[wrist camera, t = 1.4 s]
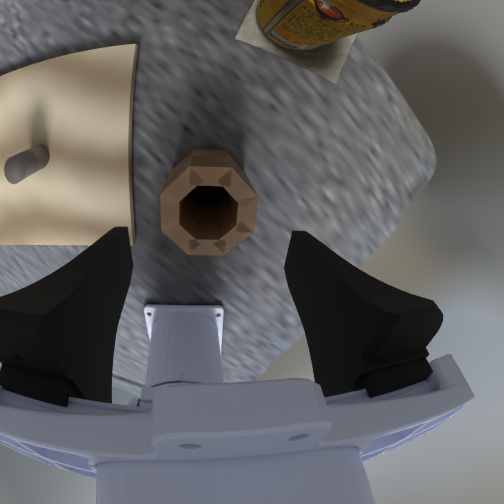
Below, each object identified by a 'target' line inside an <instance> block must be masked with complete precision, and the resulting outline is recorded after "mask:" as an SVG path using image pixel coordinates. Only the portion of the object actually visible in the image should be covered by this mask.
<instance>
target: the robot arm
mask: <svg viewBox="0 0 504 504" xmlns="http://www.w3.org/2000/svg"><path fill="white" fill-rule="evenodd" d="M132 270H133V260H132V254H131V246H130V239H129V231H128V227H114V228H112V229H111V230H109V231H108V232H107V233H106V234H104V235H103V236H102V237H101V238H99V239H98V240H97V241H96V242H94V243H93V244H92V245H91V246H90V247H88V248H87V249H86V250H84V251H83V252H82V253H80V254H79V255H78V256H77V257H75V258H74V259H73V260H71V261H70V262H68V263H67V264H66V265H64V266H63V267H61V268H59V269H58V270H56V271H55V272H53V273H51V274H50V275H48V276H46V277H44V278H42V279H41V280H39V281H37V282H35V283H33V284H31V285H29V286H27V287H25V288H22V289H20V290H18V291H15V292H13V293H10V294H7V295H4V296H2V297H0V362H1V363H2V367H1V369H0V443H1V444H2V445H5V446H7V447H9V448H11V449H13V450H15V451H17V452H20V453H22V454H24V455H27V456H29V457H32V458H34V459H36V460H39V461H41V462H44V463H47V464H49V465H52V466H55V467H58V468H61V469H64V470H67V471H70V472H73V473H76V474H80V475H83V476H87V477H91V478H94V479H97V481H96V504H375V501H374V497H373V494H372V491H371V488H370V485H369V481H368V478H367V475H366V472H365V469H364V466H363V463H362V462H363V461H366V460H368V459H371V458H373V457H376V456H378V455H380V454H383V453H385V452H388V451H390V450H392V449H394V448H396V447H399V446H401V445H403V444H405V443H407V442H409V441H411V440H413V439H415V438H417V437H419V436H421V435H423V434H425V433H427V432H429V431H431V430H433V429H434V428H436V427H438V426H440V425H441V424H443V423H444V422H445V421H447V420H448V419H449V418H451V417H452V416H453V415H455V414H456V413H457V412H458V411H460V410H461V409H462V408H463V407H465V406H466V405H467V404H468V403H469V402H470V401H472V400H473V399H474V397H475V396H474V394H473V392H472V390H471V388H470V386H469V384H468V383H467V381H466V379H465V377H464V376H463V374H462V372H461V370H460V369H459V367H458V365H457V364H456V362H455V360H454V359H453V357H452V355H451V354H448V355H445V356H442V357H440V358H437V359H435V360H433V361H431V362H430V363H428V361H427V359H426V357H427V356H428V355H429V353H428V351H427V349H426V346H427V345H428V344H429V343H430V341H431V340H432V338H433V337H434V336H435V335H436V333H437V332H438V330H439V329H440V327H441V324H442V322H443V314H442V312H441V310H440V309H439V308H438V306H437V305H436V304H435V303H434V301H433V300H429V299H426V298H423V297H420V296H416V295H413V294H410V293H407V292H405V291H402V290H399V289H397V288H395V287H392V286H390V285H388V284H386V283H384V282H382V281H380V280H378V279H376V278H374V277H372V276H370V275H368V274H367V273H365V272H363V271H361V270H360V269H358V268H356V267H355V266H353V265H352V264H350V263H349V262H347V261H346V260H345V259H343V258H342V257H340V256H339V255H337V254H336V253H335V252H333V251H332V250H331V249H329V248H328V247H327V246H325V245H324V244H323V243H322V242H320V241H319V240H318V239H316V238H315V237H313V236H312V235H311V234H309V233H307V232H306V231H292V235H291V239H290V244H289V248H288V253H287V257H286V261H285V266H284V270H285V274H286V279H287V283H288V287H289V290H290V293H291V295H292V298H293V301H294V303H295V306H296V308H297V311H298V314H299V316H300V319H301V322H302V324H303V328H304V331H305V334H306V338H307V343H308V347H309V352H310V356H311V361H312V367H313V373H314V379H315V382H313V381H311V380H309V379H300V378H288V379H278V380H266V381H253V382H234V383H224V380H223V371H222V363H221V346H222V329H223V313H224V310H223V307H222V306H220V305H149V304H148V305H145V306H144V314H145V319H146V325H147V330H148V335H149V340H150V346H149V355H148V363H147V373H146V383H145V387H143V388H142V390H141V400H140V399H139V398H132V399H131V401H130V402H128V403H127V404H126V405H119V404H112V368H113V356H114V346H115V339H116V332H117V327H118V323H119V319H120V316H121V312H122V309H123V306H124V302H125V299H126V296H127V292H128V289H129V286H130V281H131V276H132ZM148 312H150V313H148ZM217 313H220V314H217Z"/></svg>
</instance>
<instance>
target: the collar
mask: <svg viewBox="0 0 504 504" xmlns="http://www.w3.org/2000/svg"><path fill="white" fill-rule="evenodd" d="M197 185H198V186H223V187H224V188H225V190H226V191H227V192H228V194H227V195H226V196H224V197H223V198H222V199H221V200H220V201H219V202H217V203H216V204H215V205H205V204H196V203H195V202H194V201H193V200H192V199H191V198H190V197H189V196H188V195H187V194H188V193H189V192H191V191H192V190H193V189H194V188H195V187H196V186H197ZM257 202H258V196H257V194H256V192H255V190H254V189H253V187H252V185H251V183H250V181H249V180H248V178H247V176H246V174H245V172H244V171H243V170H242V169H241V168H240V166H239V165H238V164H237V163H236V162H235V161H234V160H233V158H232V157H231V156H230V155H229V154H228V153H227V152H226V151H225V150H217V149H193V150H192V151H191V152H190V153H189V154H188V155H186V156H185V157H184V158H183V159H182V160H181V161H180V162H179V163H178V164H177V165H176V166H174V167H173V168H172V170H171V172H170V174H169V176H168V178H167V180H166V183H165V185H164V187H163V189H162V192H161V194H160V208H161V231H162V232H163V233H164V234H165V235H166V236H167V237H168V238H170V239H171V240H172V241H173V242H174V243H175V244H176V245H177V246H178V247H180V248H181V249H182V250H183V251H184V252H185V253H186V254H188V255H220V256H225V255H226V254H228V253H229V252H230V251H231V250H233V249H234V248H235V247H236V246H238V245H239V244H240V243H241V242H243V241H244V240H245V239H246V238H248V237H249V236H250V235H252V234H253V233H254V226H255V218H256V210H257Z"/></svg>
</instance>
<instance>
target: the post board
mask: <svg viewBox="0 0 504 504" xmlns="http://www.w3.org/2000/svg"><path fill="white" fill-rule="evenodd" d="M138 47H139V46H138V45H137V44H127V45H119V46H111V47H104V48H98V49H92V50H87V51H82V52H77V53H72V54H68V55H64V56H60V57H56V58H52V59H49V60H45V61H42V62H38V63H35V64H32V65H29V66H26V67H23V68H20V69H17V70H15V71H12V72H9V73H7V74H4V75H2V76H0V245H92V244H93V243H94V242H96V241H97V240H98V239H99V238H101V237H102V236H103V235H104V234H106V233H107V232H108V231H109V230H111V229H112V228H114V227H128V231H129V239H130V246H134V243H135V241H136V237H135V226H134V212H133V194H132V113H133V96H134V83H135V73H136V63H137V55H138Z"/></svg>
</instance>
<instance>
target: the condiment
mask: <svg viewBox="0 0 504 504" xmlns="http://www.w3.org/2000/svg"><path fill="white" fill-rule="evenodd" d="M419 2H420V0H255V1H254V2H253V4H252V6H251V8H250V10H249V11H248V13H247V15H246V17H245V19H244V21H243V23H242V25H241V27H240V29H239V31H238V33H237V35H236V37H235V39H237V40H240V41H242V42H245V43H248V44H250V45H253V46H255V47H258V48H261V49H264V50H266V51H268V52H270V53H273V54H275V55H278V56H280V57H282V58H285V59H287V60H289V61H291V62H294V63H296V64H298V65H300V66H302V67H304V68H306V69H308V70H310V71H312V72H314V73H316V74H318V75H320V76H322V77H324V78H326V79H328V80H329V81H331V82H333V83H335V84H336V82H337V80H338V77H339V74H340V72H341V70H342V67H343V65H344V63H345V60H346V57H347V55H348V53H349V51H350V49H351V46H352V43H353V42H354V40H355V37H356V35H357V33H359V32H362V31H365V30H369V29H373V28H376V27H378V26H381V25H383V24H385V23H386V22H388V21H389V19H391V17H392V16H394V15H396V14H398V13H401V12H407V11H409V10H411V9H413V8H414V7H415V6H417V5H418V4H419ZM306 53H307V54H306Z"/></svg>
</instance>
